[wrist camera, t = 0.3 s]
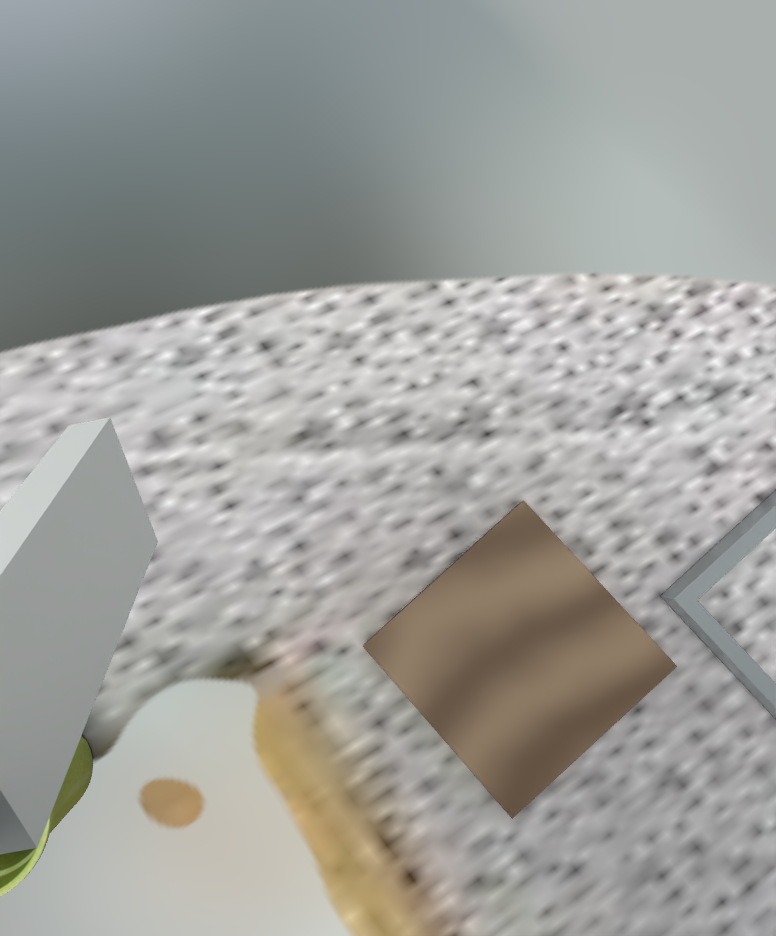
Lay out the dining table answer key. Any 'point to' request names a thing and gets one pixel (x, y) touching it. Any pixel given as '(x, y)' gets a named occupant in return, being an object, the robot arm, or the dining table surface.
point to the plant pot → (15, 866)
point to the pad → (519, 658)
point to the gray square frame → (708, 573)
